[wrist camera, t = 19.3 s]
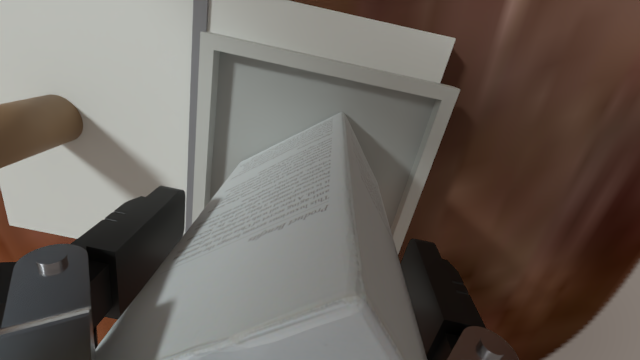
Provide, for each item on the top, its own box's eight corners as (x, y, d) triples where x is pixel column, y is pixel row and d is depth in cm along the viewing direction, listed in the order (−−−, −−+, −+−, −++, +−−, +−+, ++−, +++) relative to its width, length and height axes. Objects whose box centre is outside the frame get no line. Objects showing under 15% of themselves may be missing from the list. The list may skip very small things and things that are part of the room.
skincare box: (280, 224, 18) (185, 518, 7) (239, 160, 16) (39, 402, 6) (382, 181, 16) (462, 466, 6) (346, 106, 15) (358, 291, 4)
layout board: (31, 212, 21) (-94, 283, 15) (-25, -69, 15) (-276, -141, 9) (372, 282, 21) (384, 376, 15) (457, 41, 15) (532, 43, 9)
